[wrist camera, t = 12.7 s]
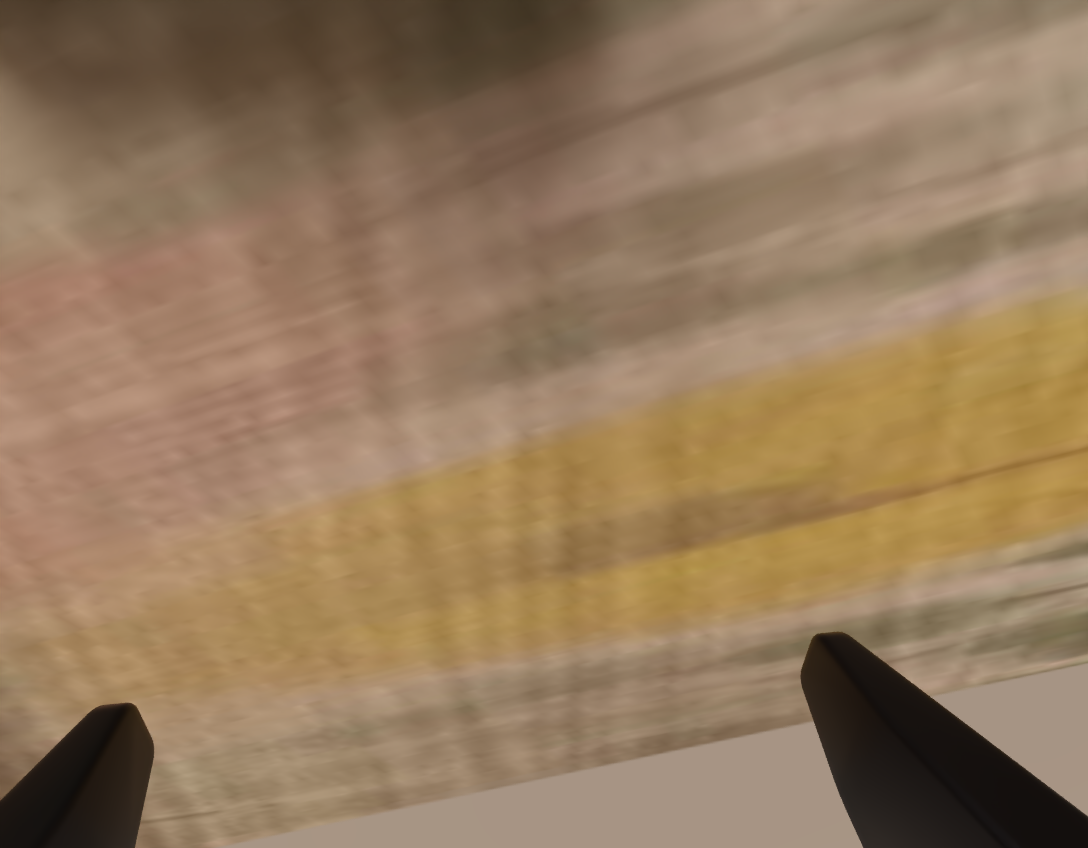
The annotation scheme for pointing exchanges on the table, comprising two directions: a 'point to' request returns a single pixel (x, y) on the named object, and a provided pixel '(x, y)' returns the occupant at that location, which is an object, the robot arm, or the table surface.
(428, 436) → the table surface
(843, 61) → the table surface
